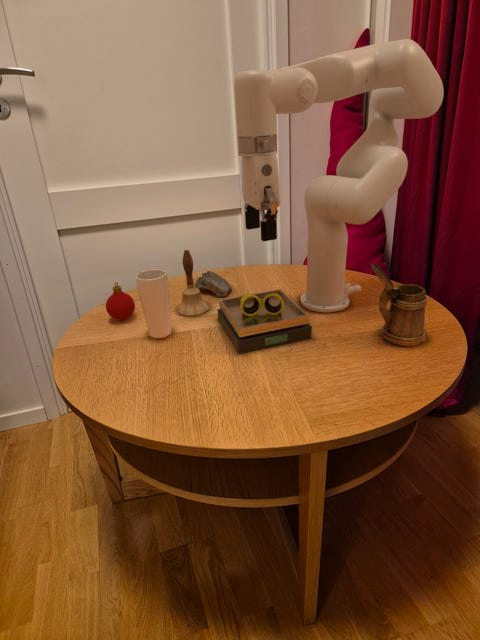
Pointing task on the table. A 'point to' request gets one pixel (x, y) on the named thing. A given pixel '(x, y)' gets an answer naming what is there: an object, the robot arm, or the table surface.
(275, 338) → the scale
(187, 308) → the hand bell
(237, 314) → the scale pan
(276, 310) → the opera glasses
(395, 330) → the wooden mug
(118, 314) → the christmas ornament
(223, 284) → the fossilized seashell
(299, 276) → the table surface
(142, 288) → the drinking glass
